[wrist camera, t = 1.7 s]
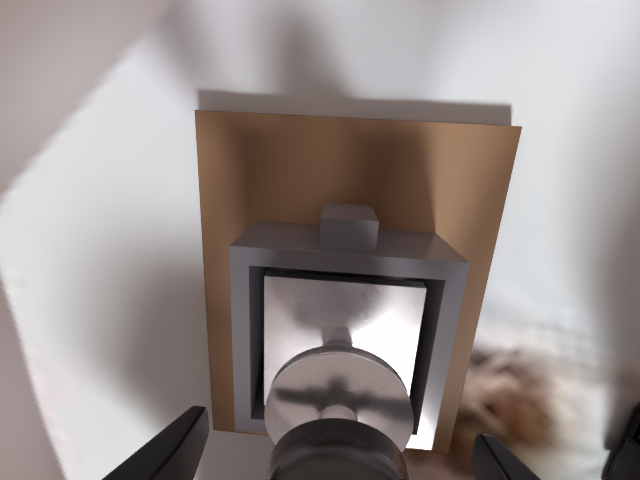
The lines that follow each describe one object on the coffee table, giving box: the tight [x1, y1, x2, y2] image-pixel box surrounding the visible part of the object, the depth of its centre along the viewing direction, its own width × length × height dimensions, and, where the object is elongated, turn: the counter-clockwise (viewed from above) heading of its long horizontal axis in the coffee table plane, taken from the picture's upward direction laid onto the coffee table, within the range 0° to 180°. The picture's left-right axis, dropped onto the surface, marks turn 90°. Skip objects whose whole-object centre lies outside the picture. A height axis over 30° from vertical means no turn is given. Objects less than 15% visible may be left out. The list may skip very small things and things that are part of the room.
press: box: [229, 202, 470, 450], centre depth 14 cm, size 8×10×4 cm
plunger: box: [264, 270, 427, 480], centre depth 10 cm, size 6×6×7 cm
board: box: [195, 110, 522, 454], centre depth 16 cm, size 14×18×1 cm
